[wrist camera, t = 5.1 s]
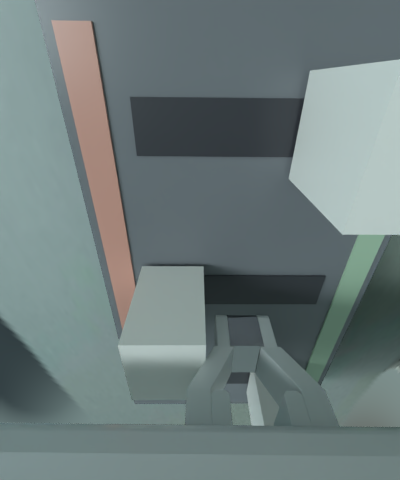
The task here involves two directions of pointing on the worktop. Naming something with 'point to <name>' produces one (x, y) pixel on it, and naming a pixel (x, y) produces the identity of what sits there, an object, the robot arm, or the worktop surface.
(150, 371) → the switch
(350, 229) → the switch
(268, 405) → the switch
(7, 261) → the worktop surface
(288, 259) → the switch board
